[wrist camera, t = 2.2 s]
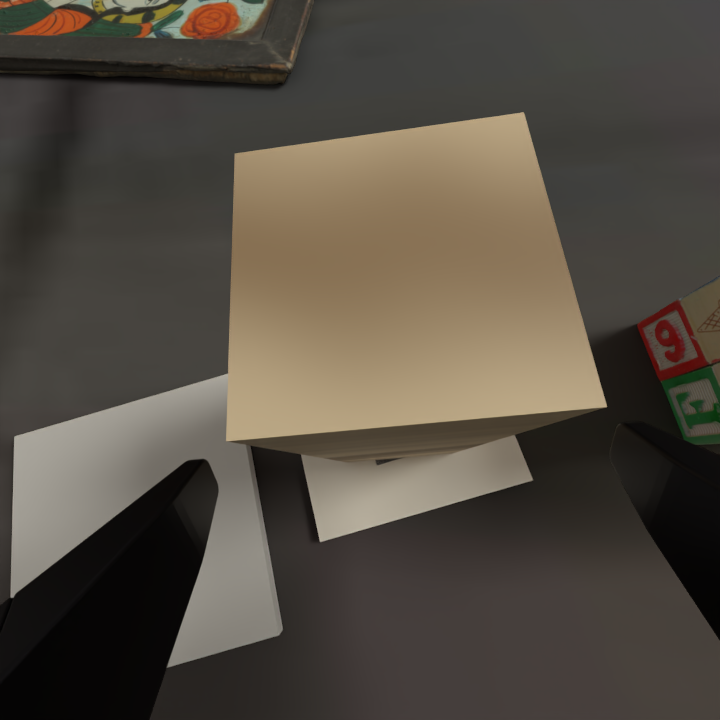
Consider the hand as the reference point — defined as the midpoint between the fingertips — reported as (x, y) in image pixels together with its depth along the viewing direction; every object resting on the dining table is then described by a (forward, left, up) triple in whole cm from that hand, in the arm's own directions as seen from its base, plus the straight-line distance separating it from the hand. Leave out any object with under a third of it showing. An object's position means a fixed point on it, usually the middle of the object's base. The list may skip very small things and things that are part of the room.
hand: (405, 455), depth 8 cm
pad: (+1, +13, -10) cm, 16 cm away
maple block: (+3, -1, -9) cm, 10 cm away
